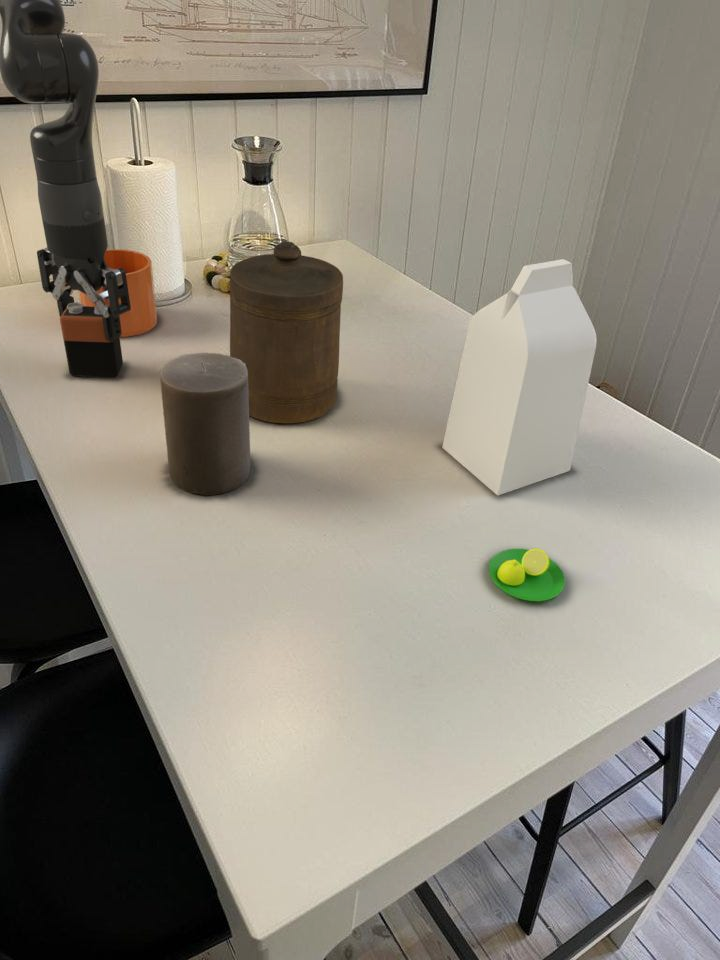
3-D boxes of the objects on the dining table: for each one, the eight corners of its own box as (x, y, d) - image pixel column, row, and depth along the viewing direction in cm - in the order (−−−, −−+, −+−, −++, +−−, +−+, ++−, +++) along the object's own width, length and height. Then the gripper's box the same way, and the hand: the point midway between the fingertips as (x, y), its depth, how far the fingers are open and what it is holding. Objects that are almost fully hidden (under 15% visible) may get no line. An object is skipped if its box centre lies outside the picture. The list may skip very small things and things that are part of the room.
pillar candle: (202, 506, 86) (194, 391, 77) (153, 468, 91) (140, 357, 82) (267, 473, 92) (267, 363, 83) (218, 440, 97) (212, 333, 88)
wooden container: (354, 389, 110) (365, 240, 97) (302, 436, 99) (307, 274, 86) (268, 362, 115) (268, 216, 102) (210, 404, 104) (201, 246, 91)
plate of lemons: (519, 543, 84) (524, 523, 83) (578, 583, 80) (585, 563, 78) (472, 573, 80) (476, 553, 78) (532, 617, 75) (538, 597, 74)
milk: (497, 495, 91) (542, 291, 76) (442, 447, 99) (472, 253, 84) (570, 470, 97) (625, 275, 81) (512, 426, 104) (552, 241, 89)
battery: (76, 362, 111) (65, 298, 105) (124, 364, 111) (115, 300, 105) (69, 377, 107) (57, 311, 101) (118, 378, 108) (109, 313, 102)
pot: (68, 324, 120) (57, 263, 115) (120, 301, 129) (112, 244, 123) (121, 344, 116) (113, 282, 110) (171, 319, 124) (166, 260, 119)
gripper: (135, 218, 96) (148, 336, 106) (55, 196, 101) (74, 309, 111) (91, 233, 91) (109, 355, 100) (9, 208, 96) (33, 326, 105)
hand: (91, 331), depth 106 cm, fingers closed on battery, 8 cm apart
